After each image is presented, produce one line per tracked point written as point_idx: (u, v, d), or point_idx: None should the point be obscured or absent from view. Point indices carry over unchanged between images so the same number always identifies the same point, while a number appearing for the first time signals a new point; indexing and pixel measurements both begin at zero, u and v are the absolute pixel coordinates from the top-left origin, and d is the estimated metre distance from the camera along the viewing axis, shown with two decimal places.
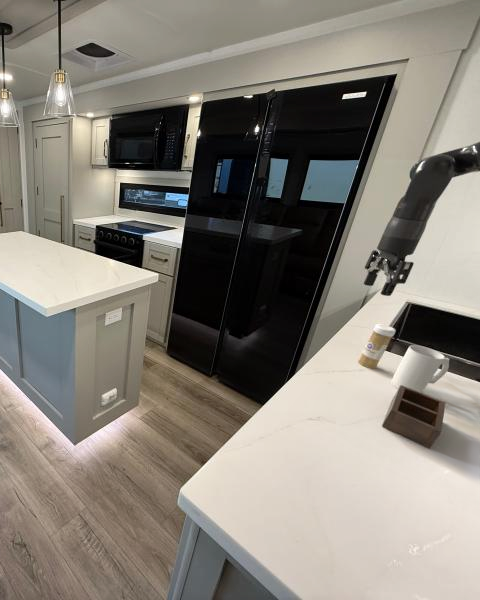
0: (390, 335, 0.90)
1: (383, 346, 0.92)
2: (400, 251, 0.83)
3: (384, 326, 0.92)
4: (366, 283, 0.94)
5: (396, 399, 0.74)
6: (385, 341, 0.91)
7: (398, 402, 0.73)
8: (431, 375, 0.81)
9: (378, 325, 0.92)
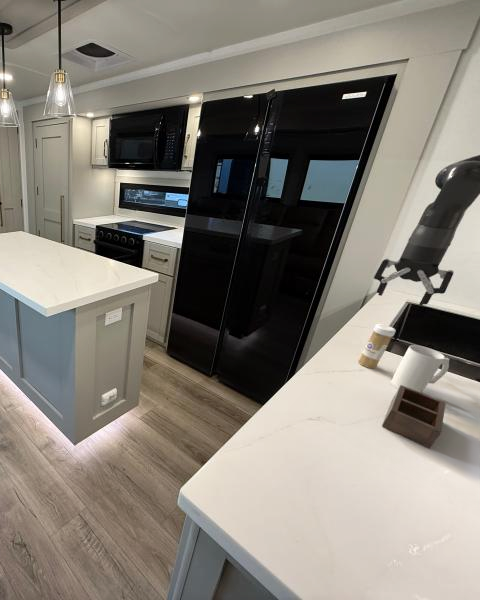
0: (390, 335, 0.90)
1: (383, 346, 0.92)
2: (440, 261, 0.80)
3: (384, 326, 0.92)
4: None
5: (396, 399, 0.74)
6: (385, 341, 0.91)
7: (398, 402, 0.73)
8: (431, 375, 0.81)
9: (378, 325, 0.92)
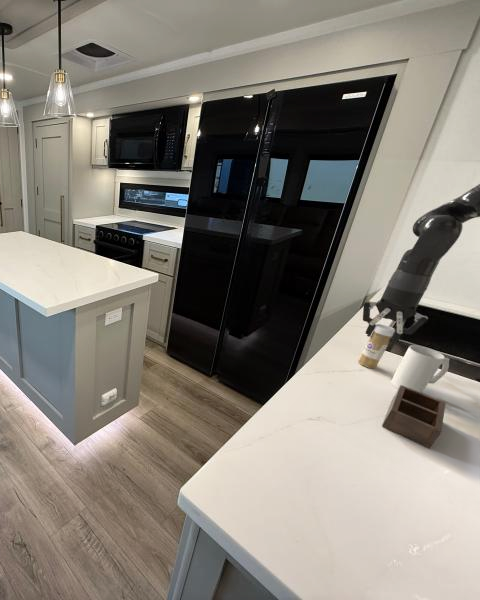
0: (390, 335, 0.90)
1: (383, 346, 0.92)
2: (417, 304, 0.85)
3: (384, 326, 0.92)
4: (370, 335, 0.94)
5: (396, 399, 0.74)
6: (385, 341, 0.91)
7: (398, 402, 0.73)
8: (431, 375, 0.81)
9: (378, 325, 0.92)
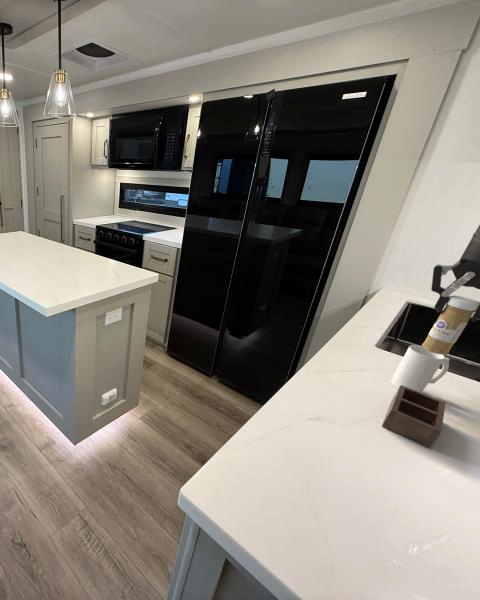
0: (473, 309, 0.66)
1: (462, 325, 0.68)
2: None
3: (463, 298, 0.68)
4: (441, 310, 0.71)
5: (396, 399, 0.74)
6: (465, 317, 0.67)
7: (398, 402, 0.73)
8: (431, 375, 0.81)
9: (454, 296, 0.69)
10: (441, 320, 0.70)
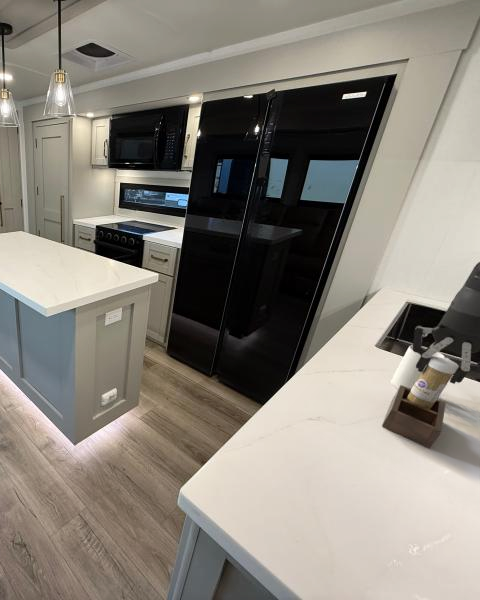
0: (452, 372, 0.69)
1: (442, 386, 0.70)
2: None
3: (442, 359, 0.71)
4: (422, 370, 0.73)
5: (396, 399, 0.74)
6: (445, 379, 0.70)
7: (398, 402, 0.73)
8: None
9: (434, 358, 0.71)
10: (422, 380, 0.73)
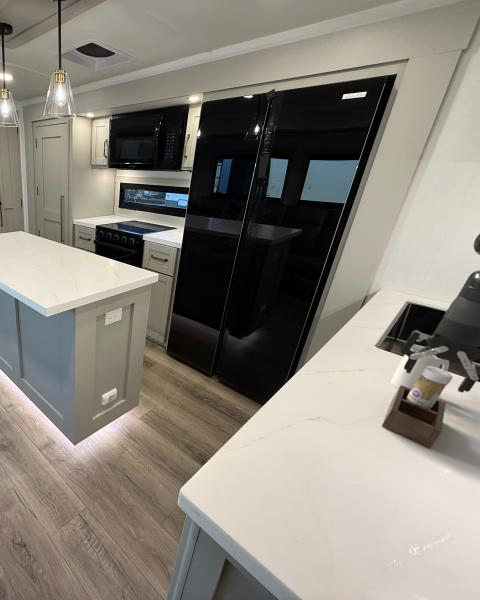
0: (445, 382, 0.70)
1: (435, 396, 0.72)
2: None
3: (436, 370, 0.72)
4: (410, 371, 0.74)
5: (396, 399, 0.74)
6: (439, 389, 0.71)
7: (398, 402, 0.73)
8: None
9: (428, 368, 0.72)
10: (416, 389, 0.74)
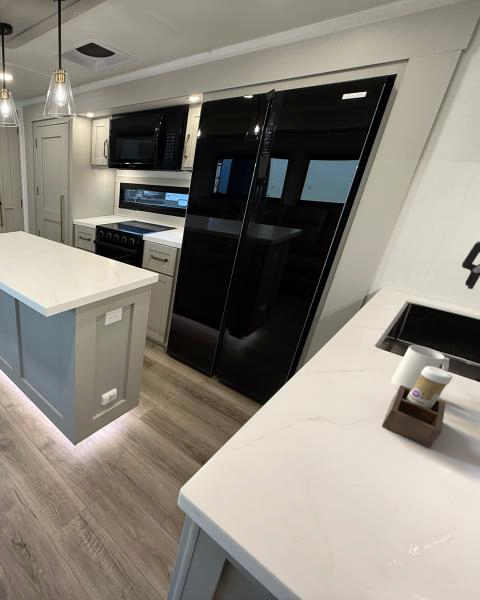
0: (445, 382, 0.70)
1: (435, 396, 0.72)
2: None
3: (436, 370, 0.72)
4: (473, 286, 0.70)
5: (396, 399, 0.74)
6: (439, 389, 0.71)
7: (398, 402, 0.73)
8: None
9: (428, 368, 0.72)
10: (416, 389, 0.74)
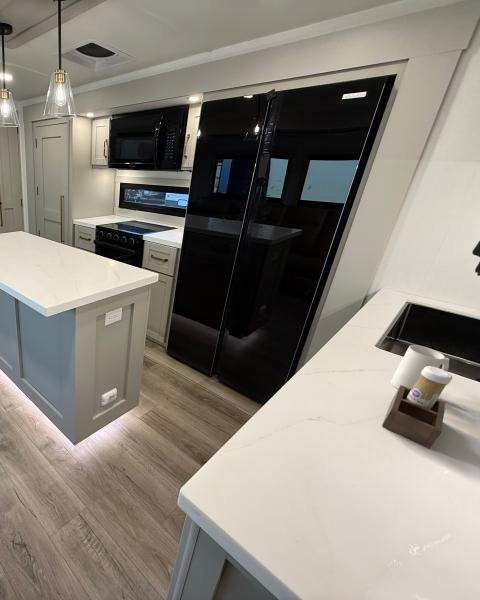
0: (445, 382, 0.70)
1: (435, 396, 0.72)
2: None
3: (436, 370, 0.72)
4: None
5: (396, 399, 0.74)
6: (439, 389, 0.71)
7: (398, 402, 0.73)
8: None
9: (428, 368, 0.72)
10: (416, 389, 0.74)
